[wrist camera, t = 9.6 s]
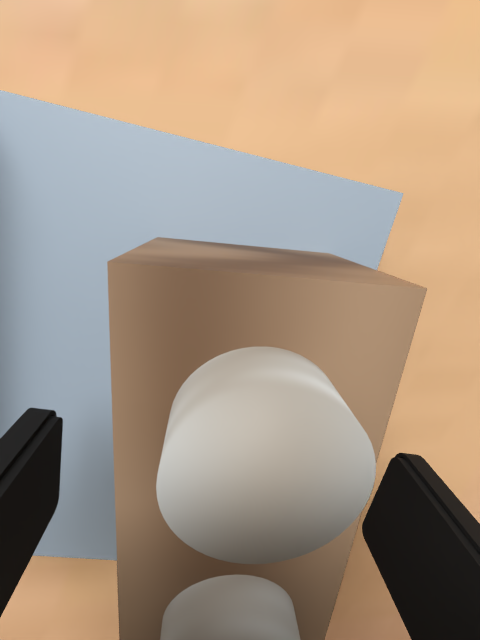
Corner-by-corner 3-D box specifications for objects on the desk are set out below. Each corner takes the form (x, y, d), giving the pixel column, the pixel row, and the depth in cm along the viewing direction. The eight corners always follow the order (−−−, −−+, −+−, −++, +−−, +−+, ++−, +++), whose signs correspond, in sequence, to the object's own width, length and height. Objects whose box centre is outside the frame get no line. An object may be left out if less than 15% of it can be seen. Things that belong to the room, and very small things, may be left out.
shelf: (350, 198, 14) (479, 187, 7) (260, 497, 19) (287, 652, 12) (-2, 111, 12) (-276, -18, 5) (5, 474, 17) (-129, 644, 10)
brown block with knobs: (329, 253, 10) (498, 314, 4) (278, 524, 14) (330, 764, 8) (157, 237, 10) (67, 281, 4) (152, 525, 14) (104, 784, 7)
